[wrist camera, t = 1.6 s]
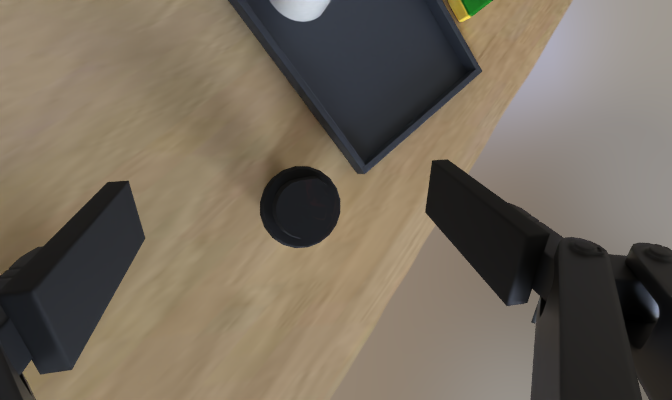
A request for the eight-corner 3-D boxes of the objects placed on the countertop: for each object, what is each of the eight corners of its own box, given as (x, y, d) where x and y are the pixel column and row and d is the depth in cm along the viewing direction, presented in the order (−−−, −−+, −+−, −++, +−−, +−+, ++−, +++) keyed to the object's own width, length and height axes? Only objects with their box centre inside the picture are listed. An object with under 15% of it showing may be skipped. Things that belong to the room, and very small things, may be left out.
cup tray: (210, -24, 33) (209, -37, 31) (356, -120, 37) (365, -137, 35) (357, 173, 40) (364, 174, 38) (469, 75, 43) (482, 71, 41)
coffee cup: (284, 244, 38) (305, 269, 28) (236, 200, 36) (242, 210, 26) (327, 198, 39) (362, 207, 29) (284, 153, 37) (305, 147, 27)
